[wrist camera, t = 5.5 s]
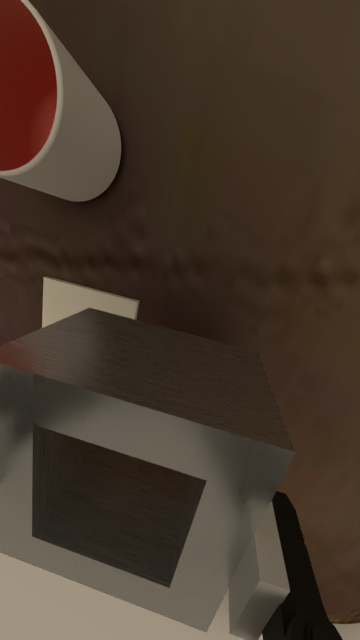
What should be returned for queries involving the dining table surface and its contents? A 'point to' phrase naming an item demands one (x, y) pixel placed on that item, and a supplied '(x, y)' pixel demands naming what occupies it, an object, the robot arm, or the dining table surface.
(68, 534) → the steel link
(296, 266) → the dining table surface
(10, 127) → the cup
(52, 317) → the peg stand
